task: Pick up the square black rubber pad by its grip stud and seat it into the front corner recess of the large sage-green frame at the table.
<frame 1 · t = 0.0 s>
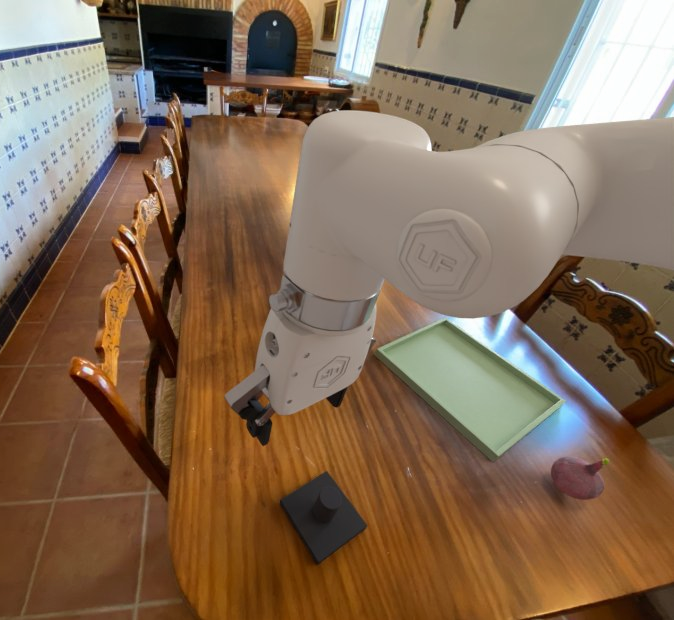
hand: (295, 414, 39), 22 cm above the table, tool pointing down, fingers open, 9 cm apart
wooden block: (313, 313, 88), on the table
vegetable: (560, 489, 58), on the table
bottle: (310, 370, 74), on the table
frame: (462, 379, 74), on the table
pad: (321, 515, 52), on the table
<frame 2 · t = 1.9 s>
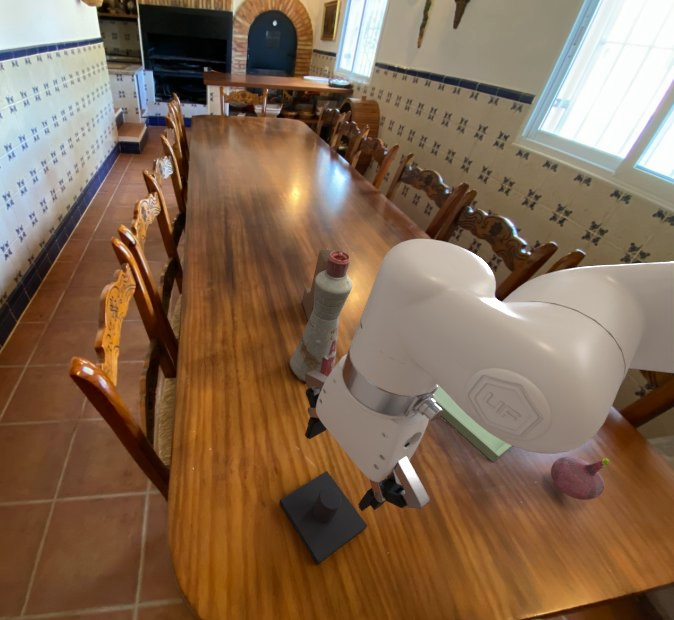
hand: (340, 465, 43), 15 cm above the table, tool pointing down, fingers open, 9 cm apart
nothing on the table moved.
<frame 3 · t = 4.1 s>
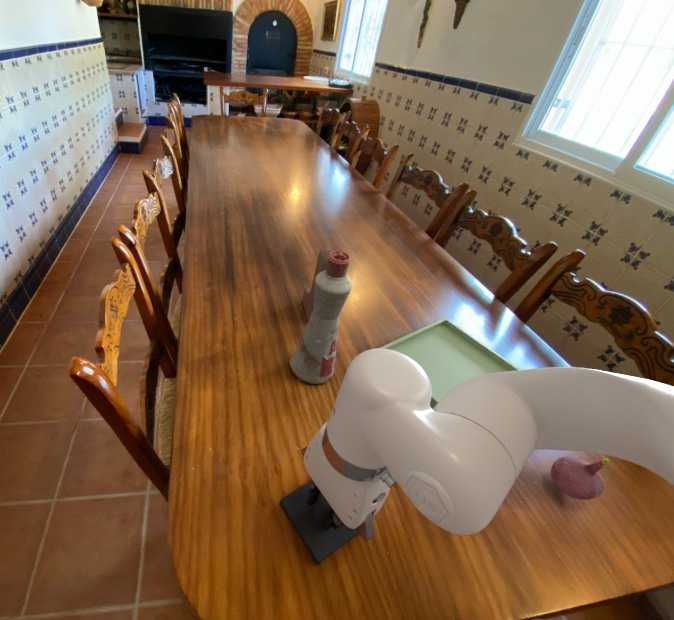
hand: (324, 510, 51), 2 cm above the table, tool pointing down, fingers closed on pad, 3 cm apart
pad: (321, 515, 52), on the table, touching gripper
everything else where it was.
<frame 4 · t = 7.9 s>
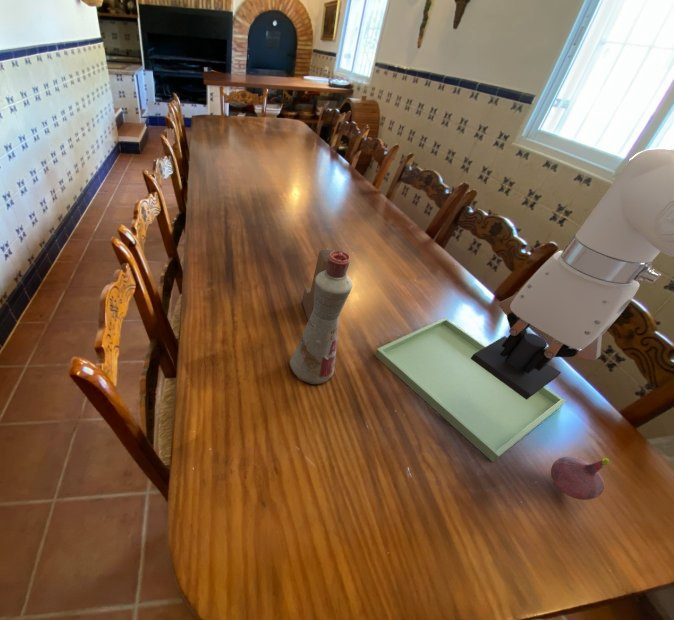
hand: (519, 360, 55), 17 cm above the table, tool pointing down, fingers closed on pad, 3 cm apart
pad: (512, 367, 56), point 15 cm above the table, touching gripper
everything else where it was.
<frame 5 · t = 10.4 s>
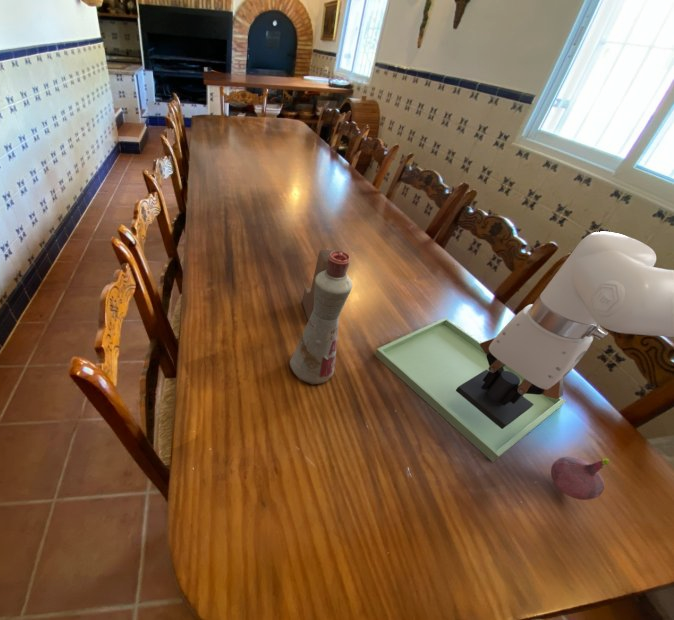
hand: (497, 393, 64), 7 cm above the table, tool pointing down, fingers closed on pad, 3 cm apart
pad: (492, 399, 65), point 5 cm above the table, touching gripper
everything else where it was.
when the fingers open (2 cm above the table, at t = 11.7 s): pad stays where it is, resting on frame.
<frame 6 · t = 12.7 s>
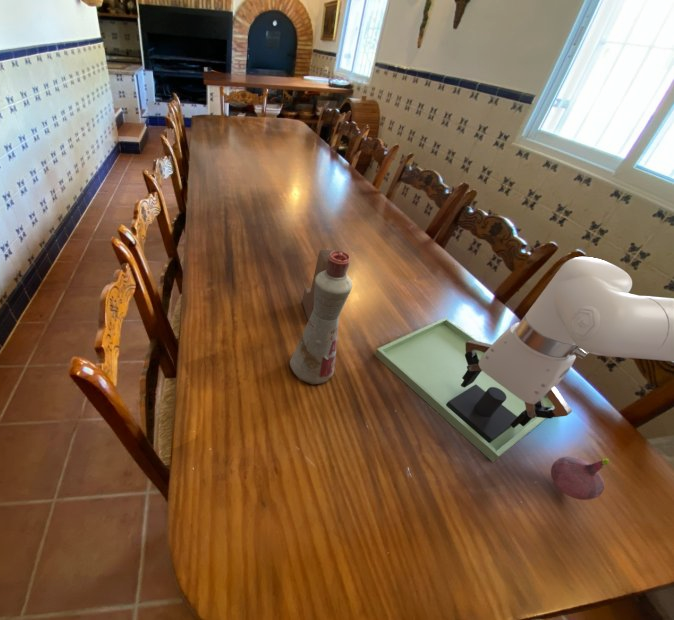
hand: (490, 402, 65), 4 cm above the table, tool pointing down, fingers open, 9 cm apart
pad: (480, 413, 67), resting on frame
everything else where it was.
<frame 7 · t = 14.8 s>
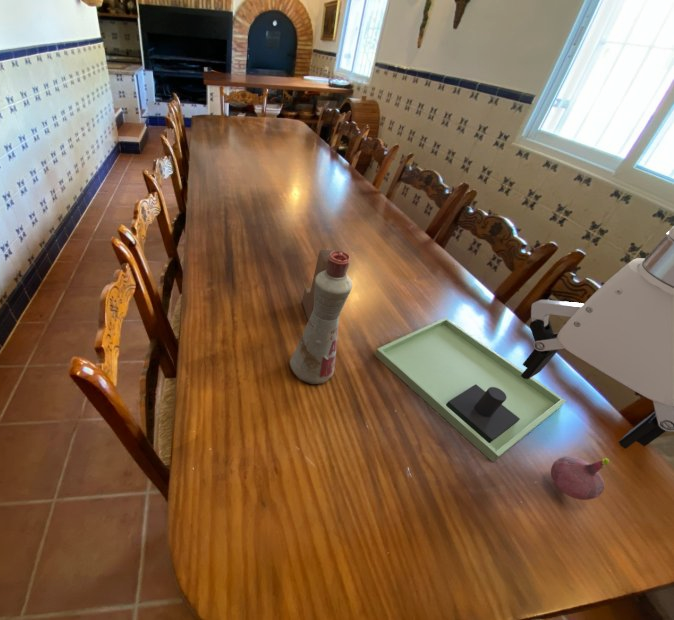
hand: (574, 404, 39), 25 cm above the table, tool pointing down, fingers open, 9 cm apart
nothing on the table moved.
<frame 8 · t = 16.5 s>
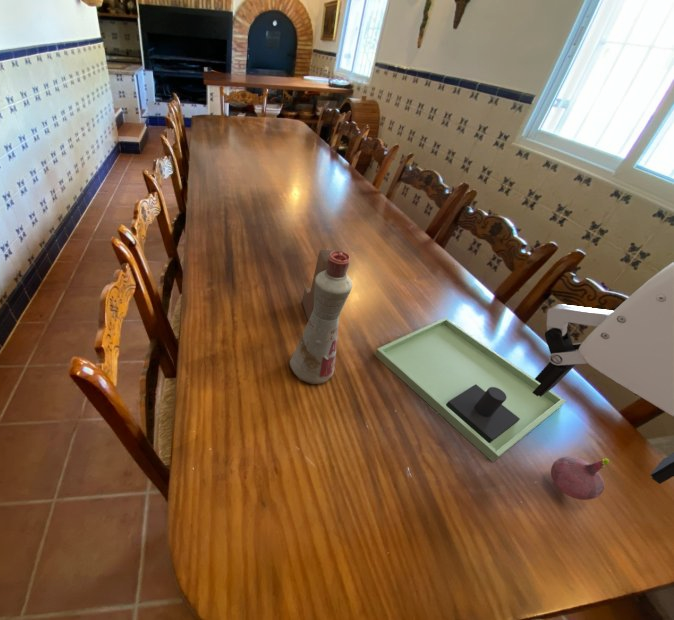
hand: (595, 427, 33), 28 cm above the table, tool pointing down, fingers open, 9 cm apart
nothing on the table moved.
at the end: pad 0.0 cm from the target spot in the frame, point 0.5 cm above the frame's base; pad tilted 0°; the gripper is holding nothing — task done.
